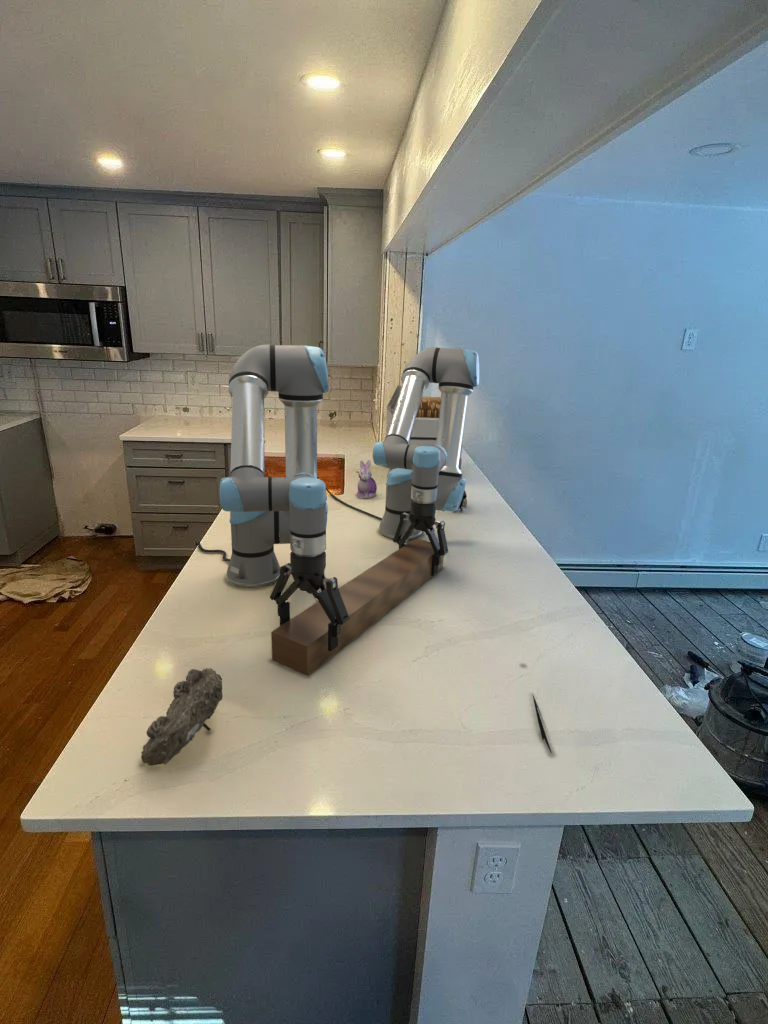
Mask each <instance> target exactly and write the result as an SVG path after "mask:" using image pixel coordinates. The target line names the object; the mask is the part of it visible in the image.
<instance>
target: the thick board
mask: <svg viewBox="0 0 768 1024" xmlns="http://www.w3.org/2000/svg"><path fill="white" fill-rule="evenodd" d="M405 544H406V545H405V546H403V547H402V548H400V549H399V548H398V549H397V550H396V551H393V552H392V553H391V554H389V555H388V556H386V557H384V558H383V559H382V560H380V561H378V562H377V563H375V564H374V565H372V566H371V567H369V568H367V569H366V570H365V571H362V573H360V574H358V575H356V576H355V577H354V578H352V579H351V580H349V581H347V582H346V583H344V584H343V585H341V586H340V587H338V589H339V592H340V594H341V597H342V600H343V602H344V605H345V607H346V610H347V613H348V615H349V620H348V621H347V622H345V623H344V624H342V625H341V634H340V635H339V636H338V646H337V647H336V648H335V649H333V650H332V651H328V624H329V623H330V622H331V621H330V620H329V618H328V616H327V615H326V613H325V611H324V610H323V608H322V606H321V605H320V603H319V601H318V600H317V602H315V603H314V604H312V605H310V606H308V607H307V608H306V609H304V610H303V611H301V612H300V613H297V614H296V615H295V616H293V617H292V618H290V620H289V621H287V622H286V623H284V624H283V625H281V626H280V625H279V626H278V627H276V628H275V629H273V630H272V631H271V632H270V633H271V634H270V635H271V661H272V662H275V663H277V664H279V665H281V666H283V667H285V668H287V669H290V670H292V671H295V672H297V673H299V674H302V675H304V676H306V677H309V676H310V675H311V674H312V673H313V672H315V671H316V670H317V669H318V668H319V667H320V666H322V665H323V664H325V663H326V662H327V661H329V659H331V658H333V656H335V655H336V654H337V653H339V652H340V651H341V650H342V649H343V648H345V647H346V646H347V645H349V643H350V642H352V641H353V640H354V639H356V638H357V637H358V636H360V635H361V634H363V632H364V631H366V630H367V629H368V628H369V627H371V626H372V625H374V624H375V622H377V621H378V620H379V619H381V618H382V617H383V616H384V615H386V614H387V613H388V612H390V611H391V610H392V609H393V608H394V607H396V606H397V605H398V604H399V603H401V602H402V601H403V600H404V599H406V598H407V597H409V595H411V594H412V593H413V592H415V591H416V590H417V589H418V588H420V587H421V586H422V585H424V584H425V583H426V582H428V581H429V579H431V578H432V577H433V576H431V572H432V559H433V555H434V554H435V553H434V550H433V548H432V545H431V543H430V541H429V540H425V539H420V538H415V539H411V541H409V542H408V543H405ZM444 557H445V555H444V556H442V557H441V564H440V565H439V566H438V572H440V571H441V570H442V569H443V568H444V559H445V558H444ZM335 618H336V617H335Z"/></svg>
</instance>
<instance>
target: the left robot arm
mask: <svg viewBox="0 0 768 1024" xmlns="http://www.w3.org/2000/svg"><path fill="white" fill-rule="evenodd" d="M231 369H232V370H231V372H230V374H229V378H228V393H229V396H231V398H232V402H231V403H232V404H231V406H232V407H231V434H230V436H231V440H230V468H229V471H230V473H229V476H228V477H227V476H226V477H222V478H221V479H220V481H219V505H220V508H221V509H222V511H224V512H229V514H230V515H229V516H230V517H229V523H230V536H231V537H230V538H231V539H230V540H231V541H230V542H231V555H230V558H227V557H226V556H227V552H226V551H225V550H222V549H207V548H206V549H205V548H204V547H203V546H202V544H201V542H200V541H196V543H195V546H197V547H198V548H199V550H201V552H204V553H208V554H209V553H221V554H222V560H224V561H225V562H228V565H227V569H226V581H227V583H229V584H230V585H232V586H234V587H236V588H241V589H260V588H266V587H269V586H271V585H274V586H273V588H272V590H271V593H270V595H269V599H270V600H271V601H274V602H275V604H276V607H277V616H278V617H279V626H281V625H283V624H284V623H286V622H287V621H289V620H290V619H291V602H290V601H289V599H290V598H291V597H292V596H293V594H295V592H297V590H298V589H299V591H301V592H306V593H307V594H309V595H312V596H313V598H314V599H316V600H317V602H318V601H319V603H320V605H321V606H322V608H323V610H324V611H325V613H326V615H327V616H328V618H329V620H330V621H331V622H330V623H329V624H328V651H332V650H333V649H335V648H336V647H337V646H338V636H339V635H340V634H341V625H342V624H344V623H345V622H347V621H348V620H349V615H348V613H347V610H346V607H345V605H344V602H343V600H342V597H341V594H340V592H339V589H338V588H339V583H338V578H337V577H336V576H333V577H331V578H329V577H327V576H326V574H325V570H326V567H327V566H326V565H327V552H326V551H327V524H328V513H329V506H328V502H327V501H328V495H327V490H326V488H327V486H326V483H325V481H324V480H322V479H321V478H319V479H317V477H318V406H319V404H320V403H321V402H323V400H324V394H327V393H328V392H329V391H330V389H329V388H330V387H329V375H328V367H327V360H326V356H325V352H324V350H323V349H322V348H321V347H318V346H312V345H306V344H304V345H294V344H293V345H291V344H289V345H286V344H260V345H256V346H254V347H252V348H250V349H248V350H247V351H246V352H245V353H243V354H242V355H241V356H240V357H239V358H238V360H237V361H236V362H235V364H234V365H233V367H232V368H231ZM269 392H276V393H277V392H278V400H279V401H280V402H281V403H282V404H283V405H284V441H285V442H284V444H285V445H284V448H285V449H284V451H285V452H284V454H285V458H284V459H285V476H273V477H272V476H268V477H267V476H265V470H266V469H265V399H266V398H267V396H268V394H269ZM289 544H290V545H289ZM275 545H289V547H290V548H289V549H290V555H289V561H290V562H288V563H285V564H284V565H281V566H280V563H279V561H278V558H277V556H276V553H275ZM291 576H292V580H293V581H292V582H291V583H290V584H289V586H288V587H287V588H286V589H285V587H286V585H287V583H288V581H289V579H290V577H291ZM284 589H285V590H284ZM319 590H320V591H319ZM318 591H319V592H318ZM335 617H336V618H335Z"/></svg>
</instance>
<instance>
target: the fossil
mask: <svg viewBox="0 0 768 1024" xmlns="http://www.w3.org/2000/svg"><path fill="white" fill-rule="evenodd" d="M172 696H173V700H172V701H171V703H170V704H169V707H168V708H167V710H166V712H165V713H166V714H165V715H166V716H163V715H160V716H158V717H157V718H156V720H153V721H152V722H151V724H150V725H149V726H148V728H147V730H146V736H147V737H148V738H149V739H148V740H147V742H146V743H145V744H144V745H143V746H142V750H141V752H140V753H141V756H140V759H141V762H142V763H143V764H146V765H148V766H149V767H155V766H160V765H167V764H168V763H169V762H170V761H172V759H174V757H176V755H178V754H180V752H181V751H182V750H183V749H184V748H185V747H186V746H187V745H189V744H190V742H192V741H193V739H194V738H195V736H196V734H197V733H198V732H199V731H200V730H201V729H202V728H204V729H206V730H207V731H208V732H209V731H211V728H210V726H208V724H206V721H207V720H210V719H211V718H212V716H213V715H214V714H215V711H216V709H217V707H218V705H219V703H220V702H221V701H222V699H223V698H224V697H223V696H224V695H223V677H222V676H221V674H219V673H217V671H216V670H215V669H213V668H207V667H206V668H203V669H202V670H200V669H196V668H191V669H190V670H189V671H188V673H187V675H186V677H185V680H181V681H178V682H177V683H176V684H175V685H174V687H173V695H172Z"/></svg>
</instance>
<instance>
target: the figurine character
mask: <svg viewBox="0 0 768 1024" xmlns="http://www.w3.org/2000/svg"><path fill="white" fill-rule="evenodd" d="M467 495H468V494H467V493H466V490H464V494H463V497H462V500H461V503H460V506H459V508H458V509H459V510H460V512H463V509H464V508H465V509H466V508H467V506H468V499H467V497H468V496H467ZM458 509H457V510H458Z"/></svg>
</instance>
